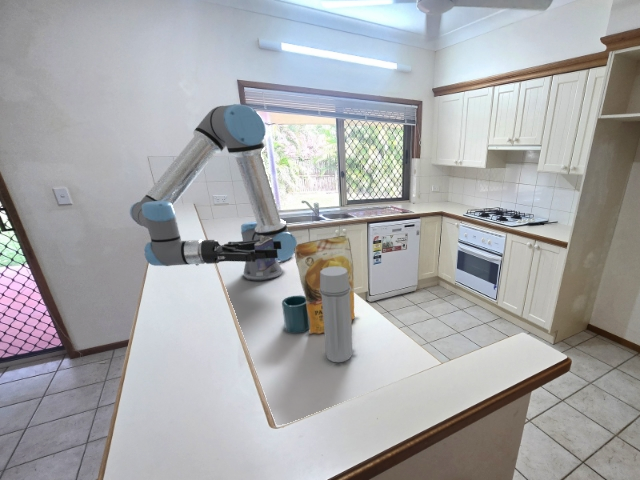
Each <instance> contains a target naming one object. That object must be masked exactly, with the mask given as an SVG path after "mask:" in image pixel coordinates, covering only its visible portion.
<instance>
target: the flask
mask: <svg viewBox="0 0 640 480" xmlns="http://www.w3.org/2000/svg"><path fill="white" fill-rule="evenodd" d="M260 236H261V237H260ZM260 236H259V237H260V241H259V242H257V243H256V244H254V247H255V250H266V249H274V244H273V238H270V237H266V238H264V237H265V236H263V235H260ZM274 264H276V261H275V258H264V259H257V266H258V271H259V270H260V271H262V272H263V271H264V270H267V269H268V268H270V267H271V266H272V265H274Z"/></svg>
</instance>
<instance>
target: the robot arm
mask: <svg viewBox="0 0 640 480" xmlns="http://www.w3.org/2000/svg"><path fill="white" fill-rule="evenodd" d="M266 131H267V130H266V125H265V121H264V119H263V117H262V116H261V114H259V112H258V111H257V110H255V109H254V108H253V107H251V106H248V105H245V104H240V103H233V104H228V105H227V104H226V105H219V106H215V107H214V108H212V109H211V110H210V111H209V112H208V113H207V114H206V115H205V116H204V117H203V118H202V120H201V121H200V122H199V123H198V125H197V126H196V127H195V129H193V131H192V133H193V137H192V138H191V139H190V141H188V143H187V144H186V146H185V147H184V148H183V149H182V151H181V152H180V153H179V154H178V155H177V156H176V158H175V159H174V160H173V162H171V164H170V165H169V166H168V168H167V169H166V170H165V171H164V173H163V174H162V175H161V176H160V177H159V179H157V180H156V182H155V184H154V185H153V186H152V187H151V188H150V189H149V191H148V192H147V193H146V194H145V196H143V197H142V199H141V200H140V201H138V202H135V203H133V204H132V205H131V206H130V208H129V215H130V217H131V219H132V220H133V221H134V222H135V223H136V224H137V225H139V226H141V227H144V228H146V229H147V231H148V234H149V237H150V241H148V242H147V243H146V244H145V245H144V249H143V250H144V258H145V259H146V261H147V264H150V265H151V266H154V267H159V266H160V267H171V266H188V265H195V266H197V267H198V266H200V265H204V264H206V265H211V264H214V265H215V264H220V263H222V262H239V263H240V262H242V263H243V262H245V263H244V269H243V276H244V279H246V280H249V281H253V282H255V281H257V282H258V281H269V280H273V279H275V278H278V277H279V276H281V275H282V273H283V271H282V267H281V263H284V262H286V261H288V260H291V258H292V257H293V255H295V252H294V248H295V247H296V246H297V245H298V241H297V239H296V237H295V236H294V235H293V234H292V233H291V232H289V229H288V225H287V222H286V221H284V220H283V219H282V218H281V215H280V213H279V209H278V205H277V202H276V198H275V195H274V191H273V189H272V185H271V181H270V177H269V174H268V171H267V168H266V164H265V160H264V157H263V152H264V150H265V148H266V147H265V145H264V139H265V136H266ZM224 149H227V152H228V154H230V155H231V156H232V157H234V159H235V161H236V164H237V167H238V170H239V173H240V176H241V180H242V182H243V185H244V188H245V191H246V194H247V197H248V200H249V203H250V206H251V210H252V212H253V214H254V219H255V221H249V222H244V223H242V224H241V225H240V234H241V238H242V240H241V241H240V240H239V241H228V242H227V243H224V244H220V243H219V241H218V240H217V239H204V240H202V239H196V240H195V239H193V240H182V238H181V233H180V229H179V224H178V221H177V216H176V211H175V209H174V207H175V205H176V204H177V202H178V201H179V200H180V198H181V197H182V196H183V195H184V193H185V192H186V191H187V190H188V189H189V188H190V186H191V184H193V182H194V181H195V180H196V179H197V178H198V176H199V175H200V174H201V172H202V171H203V169H205V167H206V166H207V165H208V163H209V162H210V161H211V160H212V158H213V157H214V156H215V155H216V154H221V153H222V152H223V150H224ZM260 235H263V236H265V237H264V238H266V237H270V238H273V244H274V249H266V250H255V247H254V244H256V243H257V242H259V241H260V237H261V236H260ZM259 236H260V237H259ZM264 258H275V261H276V264H274V265H272V266H271V267H270V268H268V269H267V270H264V271H263V272H262V271H260V270H259V271H258V266H257V259H264Z"/></svg>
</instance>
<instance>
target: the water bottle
mask: <svg viewBox="0 0 640 480" xmlns="http://www.w3.org/2000/svg"><path fill="white" fill-rule="evenodd" d="M321 291H322V292H321ZM319 292H320V294H321V295H322V307H323V320H324V333H323V334H324V342H325V355H326V359H328V361H330V362H332V363H343V362H346V361H347V360H349V359H351V357H352V355H353V354H354V352H353V331H352V329H353V328H352V323H351V301H350V292H351V286H350V285H349V278H348V271H347V269H346V268H343V267H336V266H334V267H327V268H324V269H322V270H321V271H320V289H319Z"/></svg>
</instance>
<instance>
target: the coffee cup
mask: <svg viewBox="0 0 640 480" xmlns="http://www.w3.org/2000/svg"><path fill="white" fill-rule="evenodd" d="M281 305H282V306H281V308H282V315H283V322H284V329H285V331H286V332H288V333H292V334H299V333H304V332H306V331H309V329H310V319H309V314H308V311H307V305H306V298H305V295H291V296H288V297H285V298H284V299H283V300H282V301H281Z"/></svg>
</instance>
